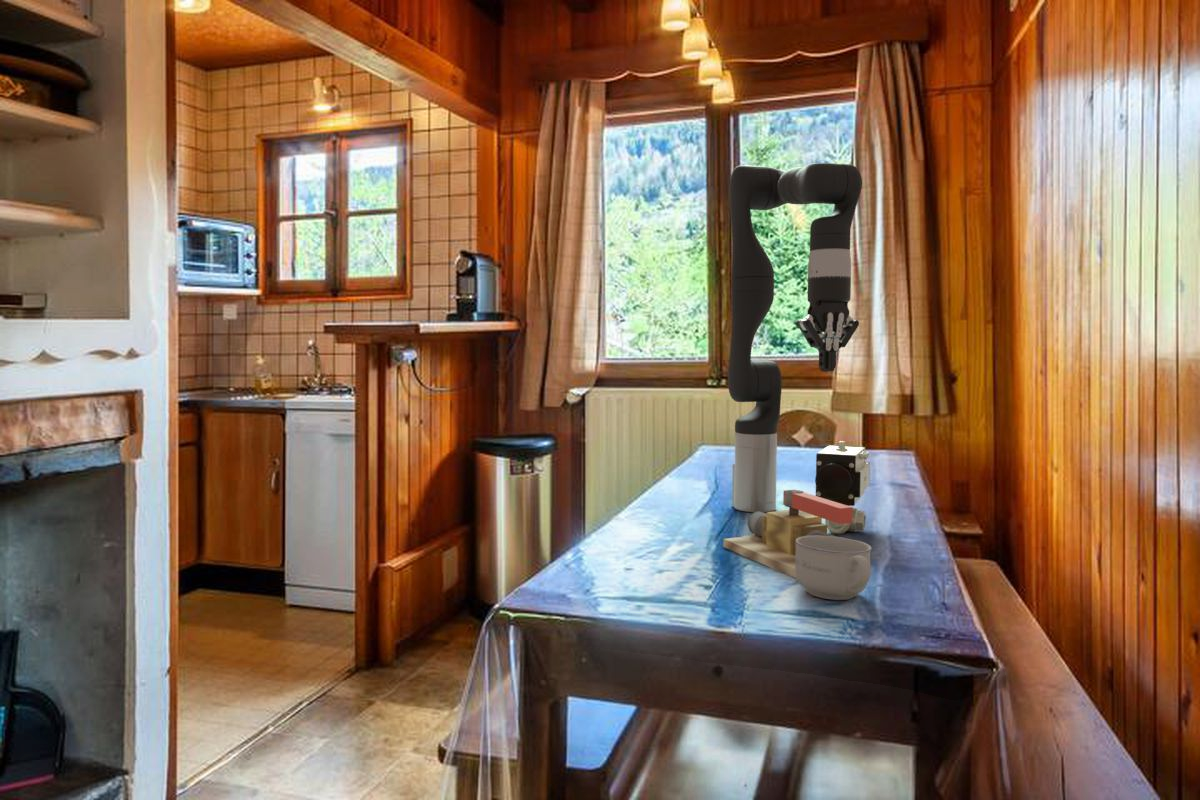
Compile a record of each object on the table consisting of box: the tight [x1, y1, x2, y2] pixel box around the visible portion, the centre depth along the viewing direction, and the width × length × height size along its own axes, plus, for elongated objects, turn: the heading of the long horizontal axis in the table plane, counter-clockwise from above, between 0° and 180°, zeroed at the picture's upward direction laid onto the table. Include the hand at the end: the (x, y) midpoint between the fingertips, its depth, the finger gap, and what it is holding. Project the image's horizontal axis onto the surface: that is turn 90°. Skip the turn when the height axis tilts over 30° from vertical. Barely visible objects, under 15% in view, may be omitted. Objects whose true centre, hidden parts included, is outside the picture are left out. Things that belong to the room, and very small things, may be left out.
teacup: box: [795, 535, 873, 601], centre depth 114 cm, size 14×11×8 cm
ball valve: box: [814, 440, 871, 535], centre depth 154 cm, size 18×8×18 cm, turn 154°
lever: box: [782, 489, 854, 524], centre depth 129 cm, size 16×3×2 cm, turn 20°
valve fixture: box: [722, 507, 837, 579], centre depth 136 cm, size 21×15×9 cm
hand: (827, 371), depth 143 cm, fingers closed
